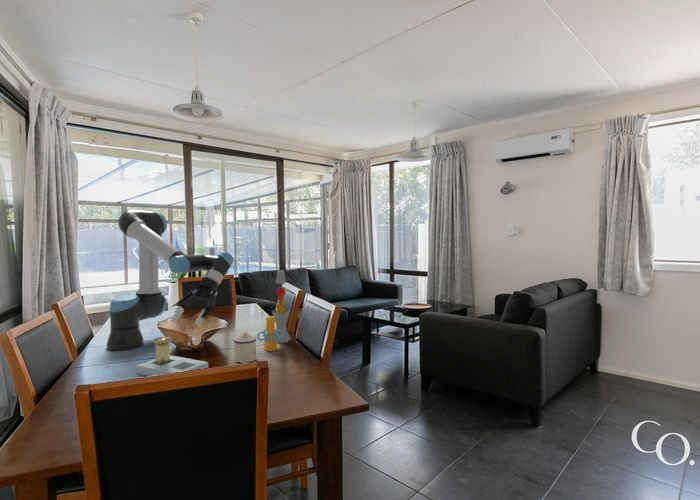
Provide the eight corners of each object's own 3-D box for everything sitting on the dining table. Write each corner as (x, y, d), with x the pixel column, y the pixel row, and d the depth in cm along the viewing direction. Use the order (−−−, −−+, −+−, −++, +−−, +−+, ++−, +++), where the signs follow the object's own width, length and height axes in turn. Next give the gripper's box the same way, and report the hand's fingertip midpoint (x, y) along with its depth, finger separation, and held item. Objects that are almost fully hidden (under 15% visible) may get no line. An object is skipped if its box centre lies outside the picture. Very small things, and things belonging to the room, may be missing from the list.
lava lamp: (293, 341, 188) (293, 270, 186) (276, 344, 183) (275, 271, 181) (285, 337, 195) (285, 269, 194) (269, 340, 190) (268, 270, 189)
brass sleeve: (150, 370, 147) (149, 340, 146) (164, 365, 153) (163, 336, 152) (161, 373, 144) (161, 341, 144) (175, 368, 150) (174, 337, 150)
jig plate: (136, 373, 144) (136, 365, 144) (168, 362, 157) (168, 354, 157) (178, 382, 135) (178, 374, 135) (208, 369, 148) (208, 362, 148)
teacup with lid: (259, 360, 159) (259, 333, 158) (238, 365, 153) (238, 336, 153) (249, 353, 168) (248, 327, 168) (228, 357, 163) (228, 330, 163)
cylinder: (276, 354, 167) (276, 320, 167) (254, 352, 170) (253, 319, 169) (286, 346, 179) (286, 314, 179) (265, 345, 182) (265, 313, 181)
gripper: (237, 288, 168) (212, 330, 156) (195, 284, 179) (169, 324, 166) (228, 278, 163) (202, 321, 150) (185, 275, 173) (158, 314, 161)
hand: (185, 322), depth 158 cm, fingers open, 13 cm apart
